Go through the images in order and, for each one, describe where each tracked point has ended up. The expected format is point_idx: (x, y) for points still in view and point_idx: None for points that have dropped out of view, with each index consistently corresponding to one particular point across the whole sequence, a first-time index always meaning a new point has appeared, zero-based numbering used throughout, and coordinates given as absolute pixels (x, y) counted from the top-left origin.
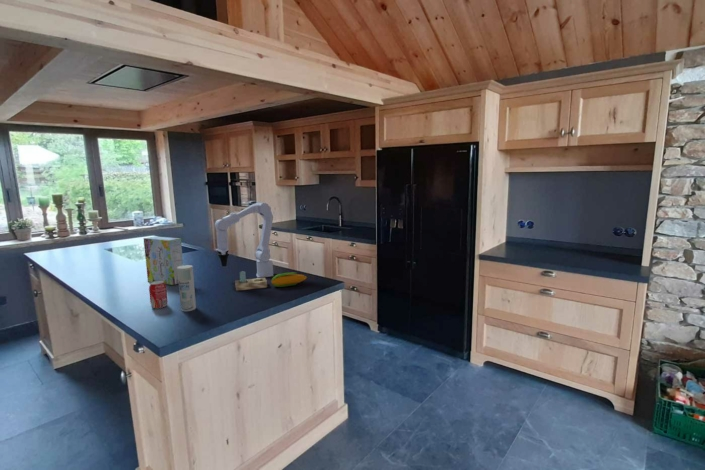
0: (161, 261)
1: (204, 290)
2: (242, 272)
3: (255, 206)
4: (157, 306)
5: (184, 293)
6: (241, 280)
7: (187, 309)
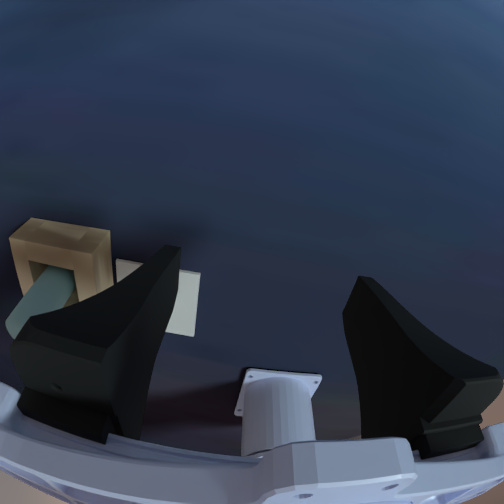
0: None
1: (120, 17)
2: (12, 330)
3: None
4: None
5: None
6: (33, 284)
7: None
